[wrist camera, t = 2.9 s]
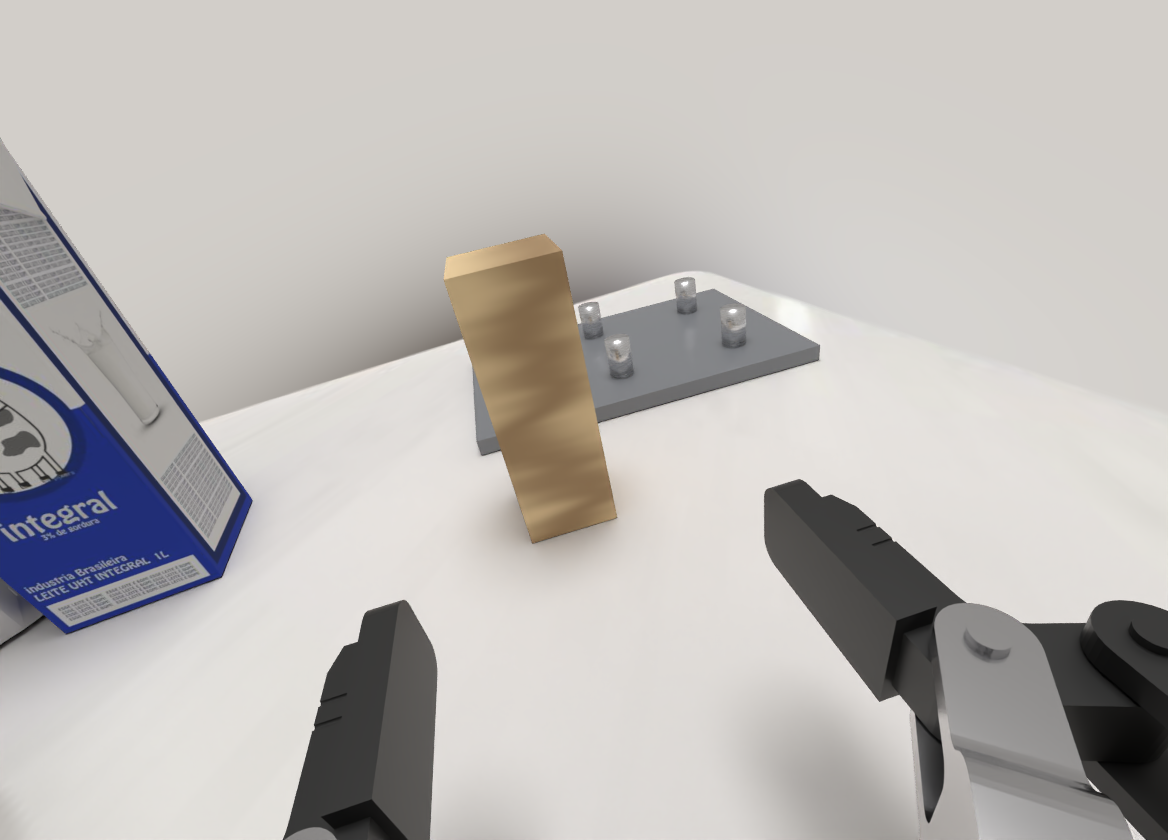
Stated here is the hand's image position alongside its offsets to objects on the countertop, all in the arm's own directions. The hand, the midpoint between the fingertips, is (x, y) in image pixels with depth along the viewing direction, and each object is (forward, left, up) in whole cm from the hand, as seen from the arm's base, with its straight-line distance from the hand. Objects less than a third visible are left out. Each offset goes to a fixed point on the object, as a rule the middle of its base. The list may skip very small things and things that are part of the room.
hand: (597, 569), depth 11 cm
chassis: (+7, +25, -7) cm, 27 cm away
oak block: (0, +11, -7) cm, 13 cm away
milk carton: (-21, +16, -7) cm, 27 cm away
